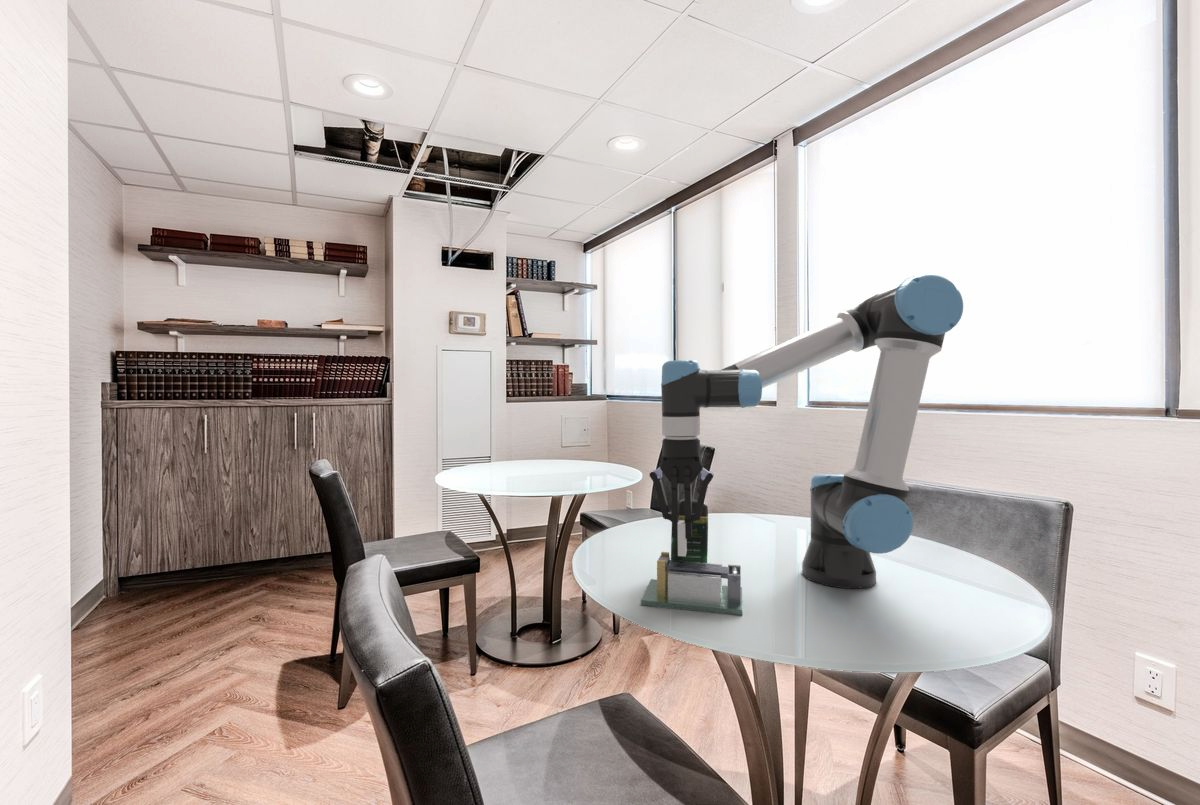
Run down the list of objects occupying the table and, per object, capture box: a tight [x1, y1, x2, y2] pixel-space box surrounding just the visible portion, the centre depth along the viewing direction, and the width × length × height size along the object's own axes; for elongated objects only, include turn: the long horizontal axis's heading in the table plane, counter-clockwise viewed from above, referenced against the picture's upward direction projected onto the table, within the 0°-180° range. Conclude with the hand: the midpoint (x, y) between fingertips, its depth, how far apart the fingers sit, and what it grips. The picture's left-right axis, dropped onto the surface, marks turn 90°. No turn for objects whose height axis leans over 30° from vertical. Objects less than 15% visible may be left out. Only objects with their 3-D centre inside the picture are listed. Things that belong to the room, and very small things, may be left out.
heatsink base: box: [640, 551, 743, 616], centre depth 107 cm, size 19×12×8 cm, turn 75°
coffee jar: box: [670, 498, 709, 563], centre depth 117 cm, size 10×8×19 cm
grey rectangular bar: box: [657, 555, 729, 580], centre depth 107 cm, size 14×4×2 cm, turn 75°
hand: (682, 554), depth 107 cm, fingers closed
